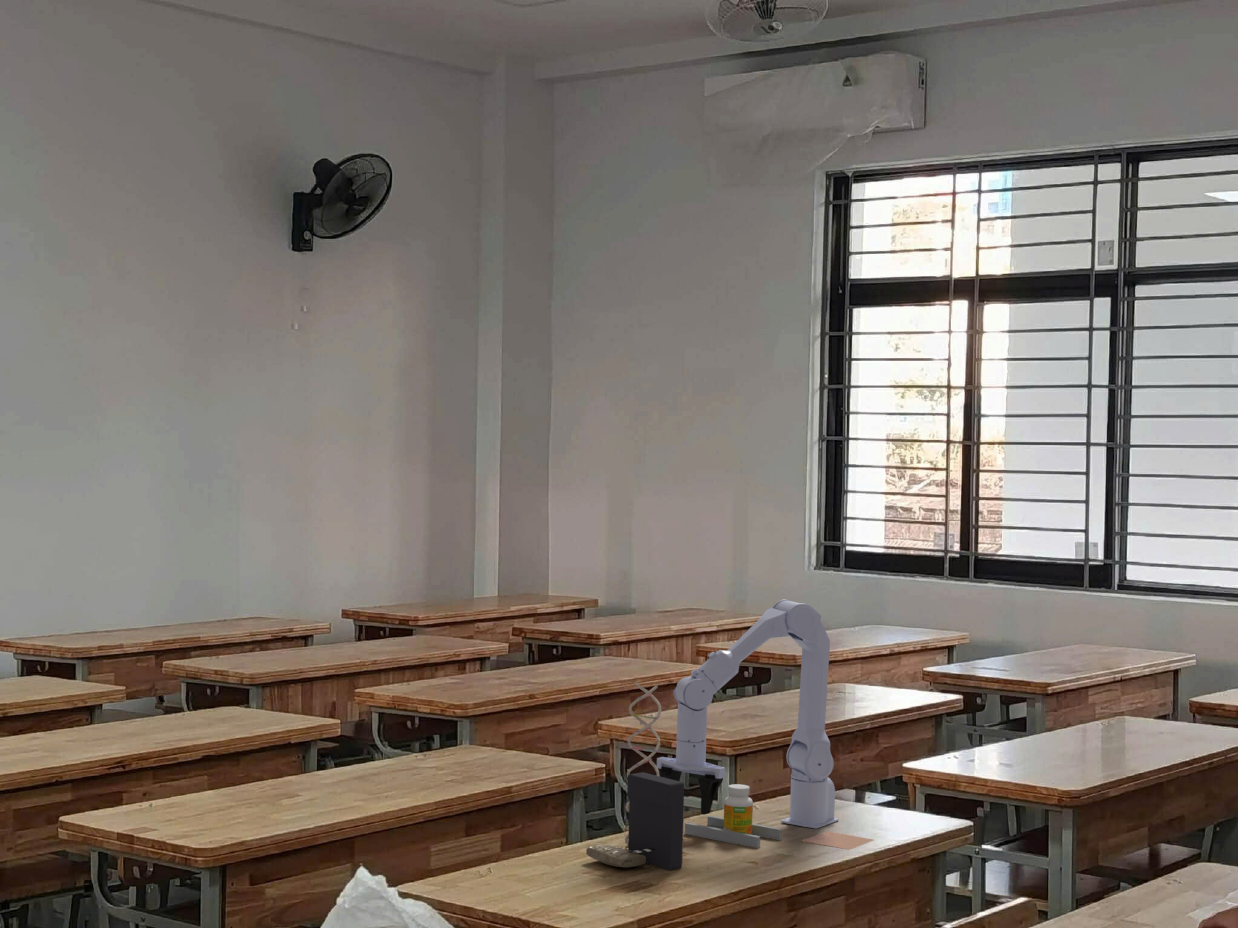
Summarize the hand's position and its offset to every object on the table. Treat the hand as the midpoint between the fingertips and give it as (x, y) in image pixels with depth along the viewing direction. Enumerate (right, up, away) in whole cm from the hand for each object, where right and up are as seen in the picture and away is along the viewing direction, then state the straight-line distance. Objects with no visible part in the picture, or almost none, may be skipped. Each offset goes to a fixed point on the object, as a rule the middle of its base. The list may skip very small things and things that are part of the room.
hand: (688, 810), depth 300 cm
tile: (+28, -4, -8) cm, 29 cm away
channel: (+8, -4, -6) cm, 11 cm away
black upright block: (-7, -4, -27) cm, 28 cm away
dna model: (-10, -3, -17) cm, 19 cm away
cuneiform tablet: (-9, -1, -34) cm, 35 cm away
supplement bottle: (+9, -4, -6) cm, 12 cm away
